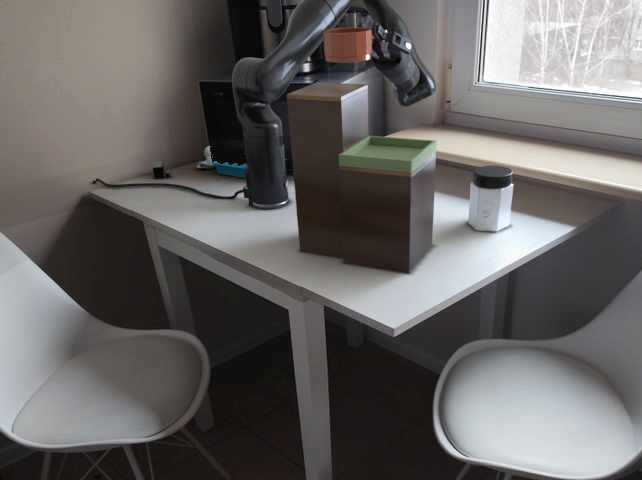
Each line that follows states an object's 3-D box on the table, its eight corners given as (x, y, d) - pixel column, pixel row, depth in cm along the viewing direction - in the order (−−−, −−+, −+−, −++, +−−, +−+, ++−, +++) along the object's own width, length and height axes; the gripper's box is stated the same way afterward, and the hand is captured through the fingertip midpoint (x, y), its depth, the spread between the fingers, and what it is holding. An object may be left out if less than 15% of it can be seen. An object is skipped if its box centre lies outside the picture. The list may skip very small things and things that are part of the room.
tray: (368, 145, 124) (368, 135, 123) (436, 151, 119) (436, 140, 118) (338, 165, 114) (338, 154, 112) (411, 172, 108) (411, 161, 107)
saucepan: (356, 48, 132) (355, 21, 130) (395, 48, 129) (395, 21, 126) (316, 62, 119) (315, 33, 116) (359, 63, 115) (359, 33, 112)
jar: (465, 230, 135) (469, 175, 129) (470, 216, 142) (474, 164, 135) (507, 233, 133) (513, 177, 126) (510, 219, 139) (516, 166, 133)
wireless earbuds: (154, 180, 176) (152, 168, 174) (155, 172, 182) (152, 161, 180) (171, 178, 177) (169, 166, 175) (171, 171, 183) (168, 160, 181)
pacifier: (192, 169, 184) (206, 171, 181) (188, 147, 181) (202, 149, 177) (210, 162, 189) (224, 165, 185) (207, 141, 185) (220, 143, 182)
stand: (325, 230, 139) (316, 82, 122) (432, 245, 129) (438, 87, 112) (295, 255, 128) (281, 96, 112) (409, 273, 119) (412, 103, 102)
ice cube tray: (237, 162, 187) (235, 152, 186) (291, 170, 178) (290, 160, 176) (211, 173, 179) (209, 162, 178) (266, 182, 170) (265, 171, 168)
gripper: (368, 44, 143) (339, 8, 127) (426, 45, 138) (402, 7, 122) (362, 77, 144) (332, 45, 128) (419, 79, 138) (395, 46, 122)
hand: (367, 27), depth 125 cm, fingers closed on saucepan, 2 cm apart
